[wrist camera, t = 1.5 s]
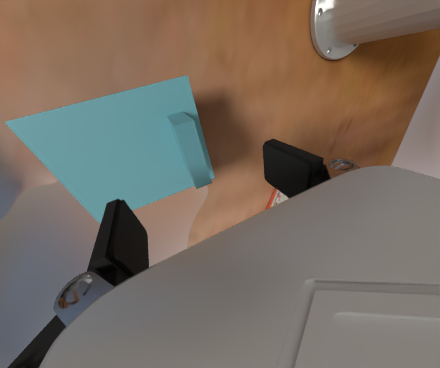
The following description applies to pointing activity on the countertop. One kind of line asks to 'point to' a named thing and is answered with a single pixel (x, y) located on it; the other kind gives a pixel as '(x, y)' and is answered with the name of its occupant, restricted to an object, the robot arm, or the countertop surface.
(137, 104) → the lid
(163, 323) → the robot arm
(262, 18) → the countertop surface
